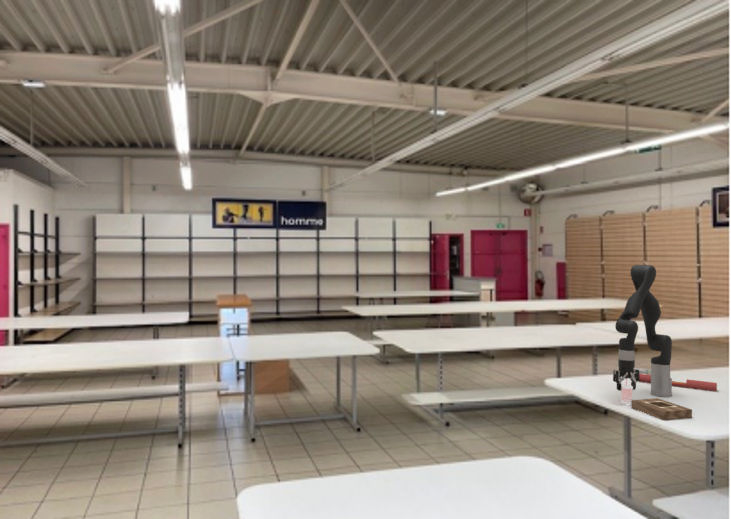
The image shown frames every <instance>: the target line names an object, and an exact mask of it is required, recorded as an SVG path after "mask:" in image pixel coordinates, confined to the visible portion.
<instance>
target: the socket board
mask: <svg viewBox="0 0 731 519" xmlns="http://www.w3.org/2000/svg"><path fill="white" fill-rule="evenodd" d="M630 405H631V406H630V407H631V409H632V408H633V410H635V409H636V410H635V411H637V410H639V411H638V412H640V411H642V412H641V413H643V412H644V413H643V414H645V413H646V415H648V414H649V415H648V416H651V417H653V416H654V418H656V419H659V420H662V421H672V420H685V418H686V419H692V418H693V409H692V408H689V407H686V406H683V405H680V404H676V403H673V402H670V401H667V400H665V399H661V398H659V397H658V398H643V399H633V400H631V404H630Z"/></svg>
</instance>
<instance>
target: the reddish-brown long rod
mask: <svg viewBox="0 0 731 519" xmlns="http://www.w3.org/2000/svg"><path fill="white" fill-rule="evenodd" d="M639 377H640V381H639V383H645V382H646V383H647V384H651V375H646V374H640V373H639ZM685 381H686V382H681V381H674V380H673V381H672V387H678V388H684V387H685V389H692V388H693V390H700V389H701V390H702V391H707V390H709V392H715V391H717V389H718V383H717V382H712V381H704V380H697V379H696V380H695V379H688V378H687V379H686V380H685ZM646 383H645V384H646ZM701 390H700V391H701Z"/></svg>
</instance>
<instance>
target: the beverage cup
mask: <svg viewBox="0 0 731 519" xmlns="http://www.w3.org/2000/svg"><path fill="white" fill-rule="evenodd" d="M632 389H633V386H631V384H630V385H629V384H628V378H627V379H625V384H621V391H620V402H621V404H622V403H624V404H623V405H626V404H630V405H631V400H632V399H633V390H632Z"/></svg>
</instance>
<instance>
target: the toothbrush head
mask: <svg viewBox="0 0 731 519" xmlns="http://www.w3.org/2000/svg"><path fill="white" fill-rule="evenodd" d="M634 369H637V370H639V374H646V375H651V368H641V367H640V368H639V367H635V368H634Z"/></svg>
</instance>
